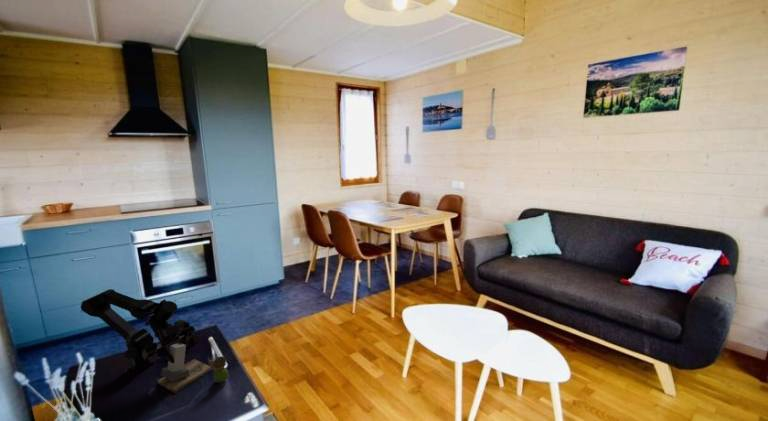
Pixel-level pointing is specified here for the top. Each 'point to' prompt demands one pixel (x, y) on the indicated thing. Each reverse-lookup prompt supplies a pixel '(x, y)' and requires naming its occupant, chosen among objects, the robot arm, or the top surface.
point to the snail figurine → (219, 369)
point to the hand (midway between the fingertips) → (180, 359)
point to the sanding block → (176, 363)
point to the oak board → (194, 373)
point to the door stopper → (192, 339)
